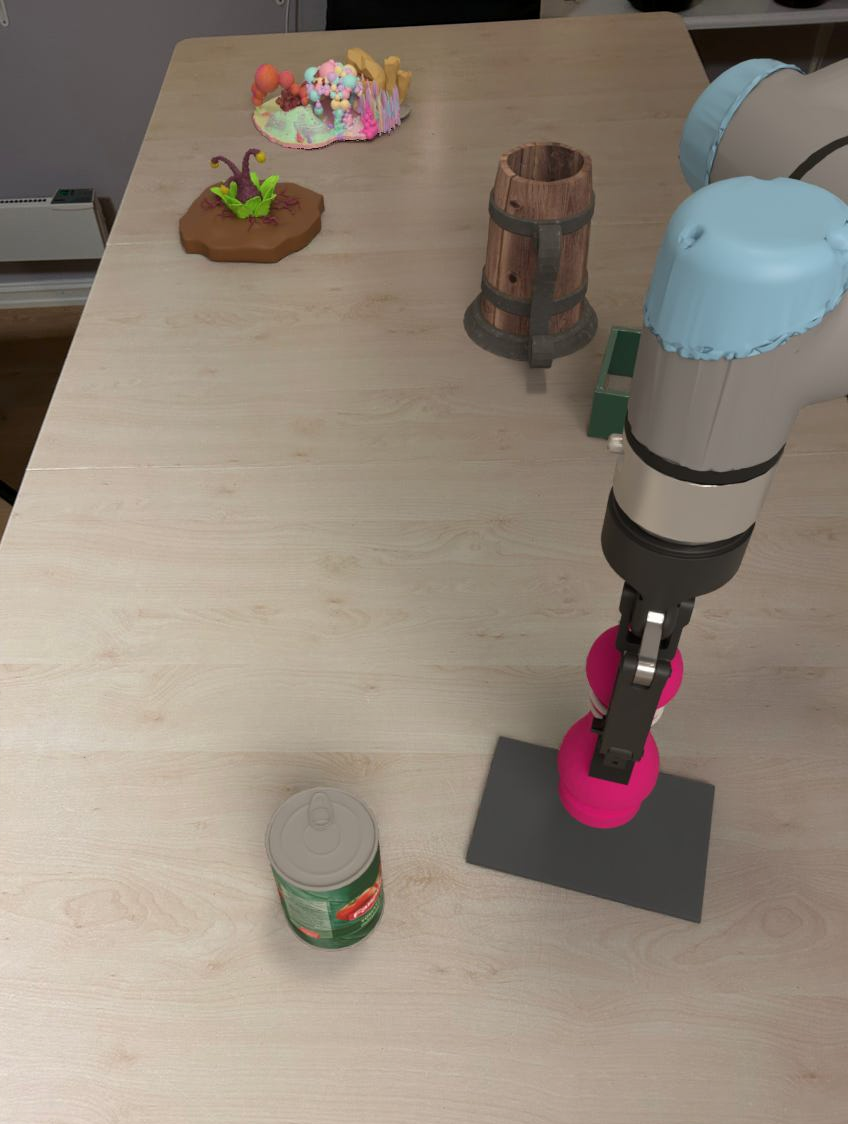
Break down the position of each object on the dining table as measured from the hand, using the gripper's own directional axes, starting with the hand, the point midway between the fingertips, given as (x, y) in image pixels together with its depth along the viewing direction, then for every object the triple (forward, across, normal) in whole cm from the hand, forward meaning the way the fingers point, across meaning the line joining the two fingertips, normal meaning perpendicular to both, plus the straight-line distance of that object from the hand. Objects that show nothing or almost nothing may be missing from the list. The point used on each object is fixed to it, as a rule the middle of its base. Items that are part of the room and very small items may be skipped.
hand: (615, 740), depth 68 cm
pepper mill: (+7, 0, 0) cm, 7 cm away
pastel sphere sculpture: (+13, -118, -62) cm, 134 cm away
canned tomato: (+13, +12, -18) cm, 25 cm away
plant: (+13, -82, -62) cm, 104 cm away
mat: (+13, 0, 0) cm, 13 cm away
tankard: (+13, -65, -18) cm, 69 cm away
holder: (+13, -54, -2) cm, 55 cm away
